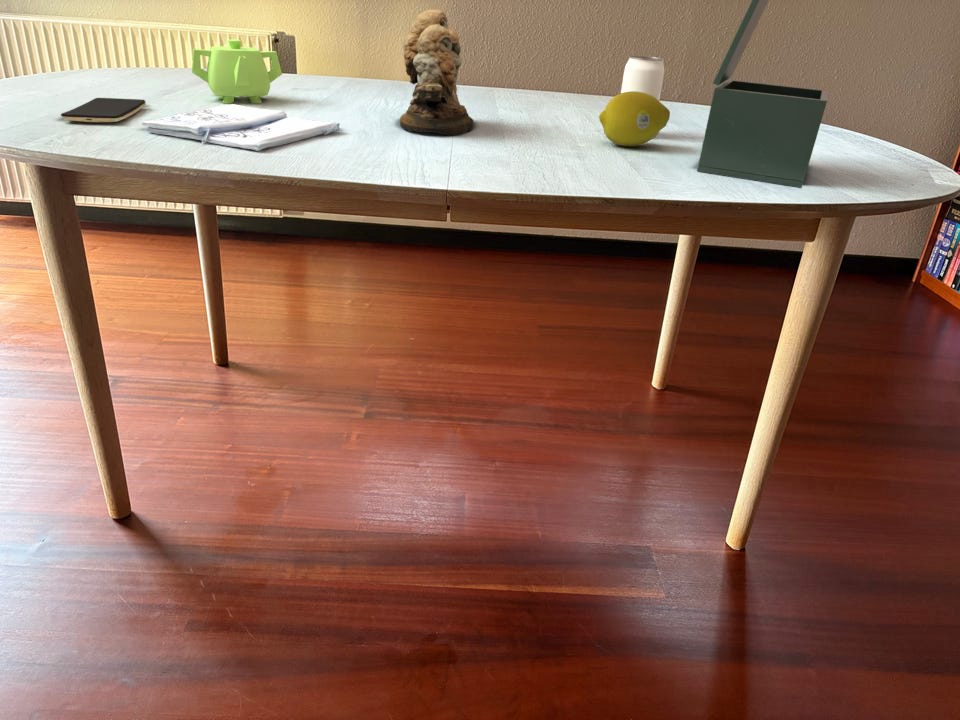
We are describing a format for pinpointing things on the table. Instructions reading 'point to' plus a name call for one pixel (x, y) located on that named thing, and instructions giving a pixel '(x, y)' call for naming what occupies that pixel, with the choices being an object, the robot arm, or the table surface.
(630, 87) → the can
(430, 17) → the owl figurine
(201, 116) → the open sketchbook
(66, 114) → the smartphone
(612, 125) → the lemon
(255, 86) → the teapot
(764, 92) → the trash bin
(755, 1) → the bin lid
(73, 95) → the table surface
